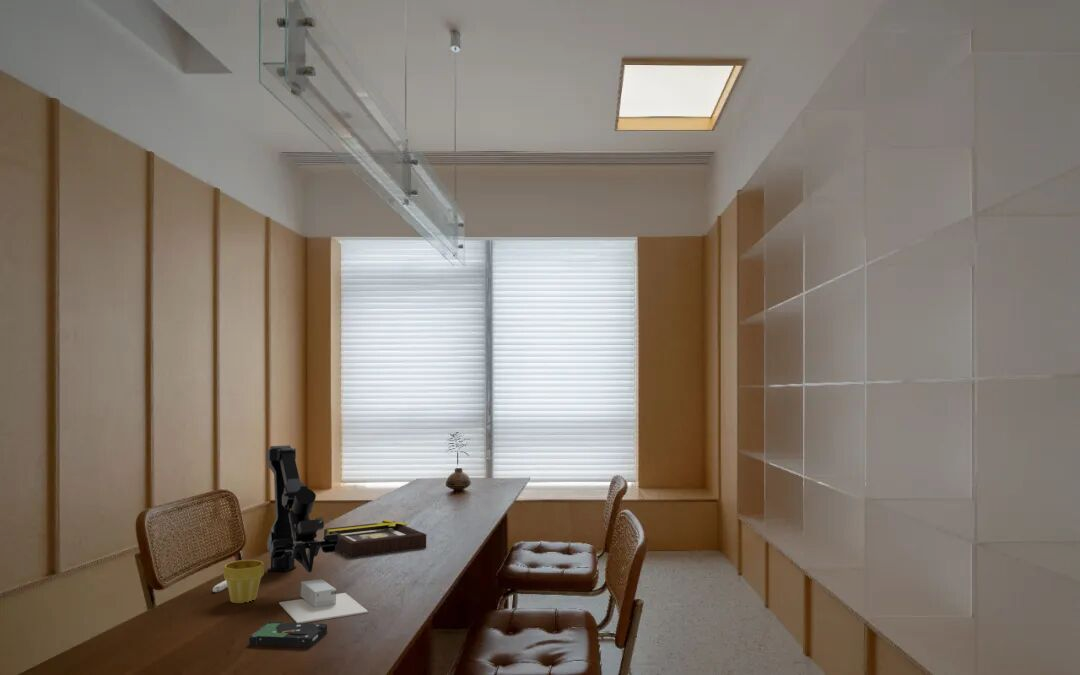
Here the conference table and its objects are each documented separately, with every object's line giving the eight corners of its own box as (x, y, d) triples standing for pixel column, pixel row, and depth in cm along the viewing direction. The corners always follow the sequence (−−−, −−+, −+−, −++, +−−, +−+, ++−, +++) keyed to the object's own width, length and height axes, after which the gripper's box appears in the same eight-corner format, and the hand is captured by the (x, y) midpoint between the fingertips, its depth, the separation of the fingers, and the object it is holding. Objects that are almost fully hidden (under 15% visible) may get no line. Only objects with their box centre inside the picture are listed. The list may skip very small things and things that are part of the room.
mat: (279, 603, 209) (279, 602, 209) (345, 594, 218) (345, 592, 218) (297, 623, 192) (297, 622, 192) (368, 612, 201) (368, 611, 201)
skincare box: (300, 596, 214) (313, 609, 204) (300, 580, 214) (313, 592, 204) (322, 593, 217) (336, 605, 207) (322, 577, 218) (336, 589, 207)
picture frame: (322, 526, 286) (398, 518, 303) (322, 544, 286) (397, 535, 303) (349, 539, 263) (430, 530, 280) (349, 559, 263) (429, 548, 280)
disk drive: (327, 635, 185) (267, 632, 187) (327, 623, 186) (268, 620, 187) (310, 650, 175) (247, 647, 177) (311, 638, 175) (248, 635, 177)
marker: (216, 594, 219) (216, 586, 219) (209, 594, 219) (209, 586, 219) (246, 578, 237) (246, 570, 237) (240, 578, 237) (240, 570, 237)
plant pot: (259, 604, 209) (260, 567, 209) (219, 606, 207) (219, 569, 207) (266, 593, 219) (267, 558, 219) (228, 595, 217) (228, 560, 218)
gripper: (272, 511, 218) (280, 558, 208) (338, 505, 227) (349, 550, 217) (266, 534, 224) (273, 582, 214) (330, 528, 234) (340, 573, 224)
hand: (310, 571), depth 217 cm, fingers closed
